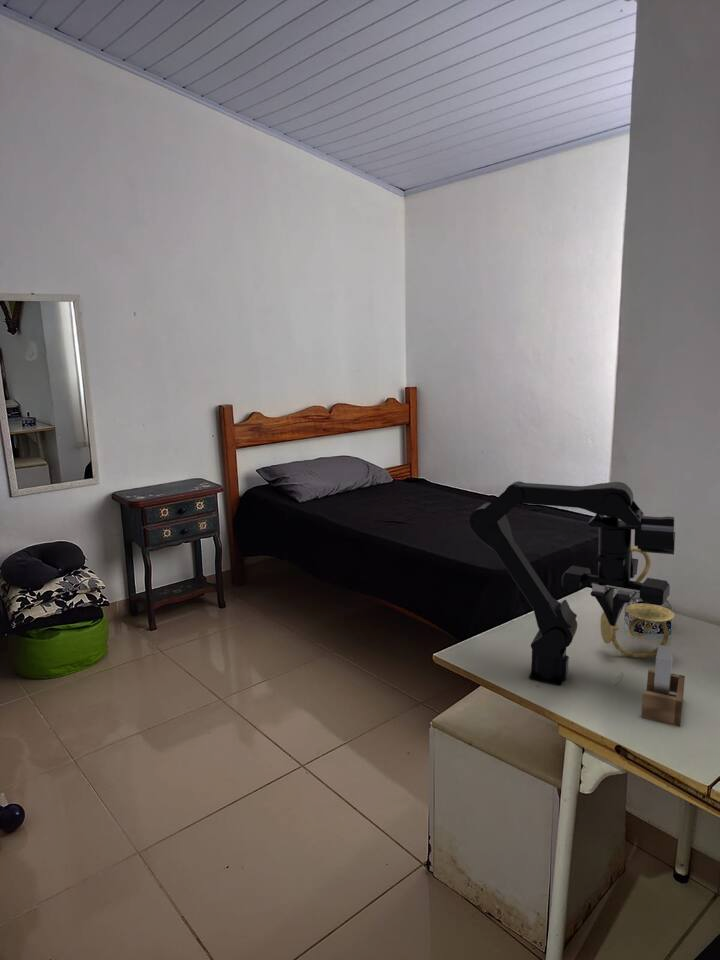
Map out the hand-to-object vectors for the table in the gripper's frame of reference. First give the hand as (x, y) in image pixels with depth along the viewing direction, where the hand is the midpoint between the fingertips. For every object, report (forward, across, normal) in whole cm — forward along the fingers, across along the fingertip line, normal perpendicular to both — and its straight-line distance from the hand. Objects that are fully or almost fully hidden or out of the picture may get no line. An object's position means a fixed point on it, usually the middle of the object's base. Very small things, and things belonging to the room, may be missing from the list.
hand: (613, 625), depth 125 cm
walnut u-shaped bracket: (+13, -10, +4) cm, 17 cm away
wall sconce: (+14, -1, -15) cm, 21 cm away
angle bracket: (+13, -10, +4) cm, 17 cm away
